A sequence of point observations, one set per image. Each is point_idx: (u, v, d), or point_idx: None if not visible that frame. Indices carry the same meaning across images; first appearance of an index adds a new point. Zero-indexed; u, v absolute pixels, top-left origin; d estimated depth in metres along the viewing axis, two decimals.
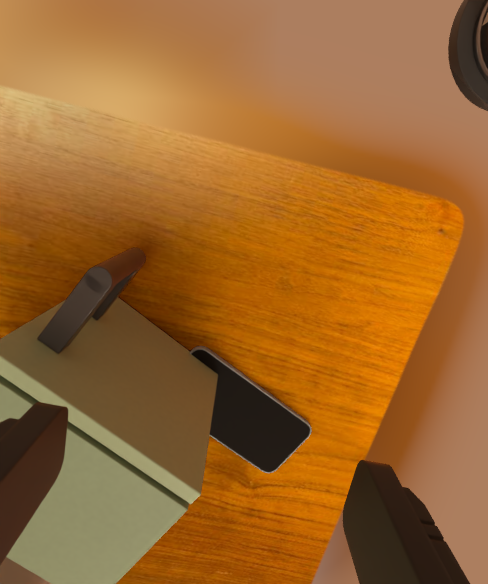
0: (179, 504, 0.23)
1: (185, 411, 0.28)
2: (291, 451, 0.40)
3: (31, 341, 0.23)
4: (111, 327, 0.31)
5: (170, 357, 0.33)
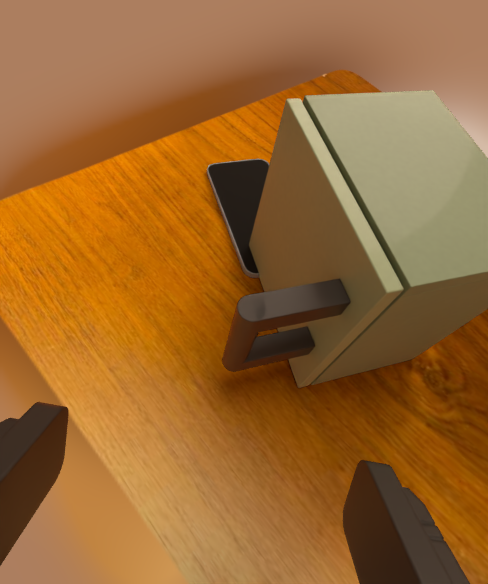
0: (308, 101, 0.24)
1: (276, 197, 0.29)
2: (235, 162, 0.43)
3: (355, 298, 0.21)
4: None
5: (271, 269, 0.32)
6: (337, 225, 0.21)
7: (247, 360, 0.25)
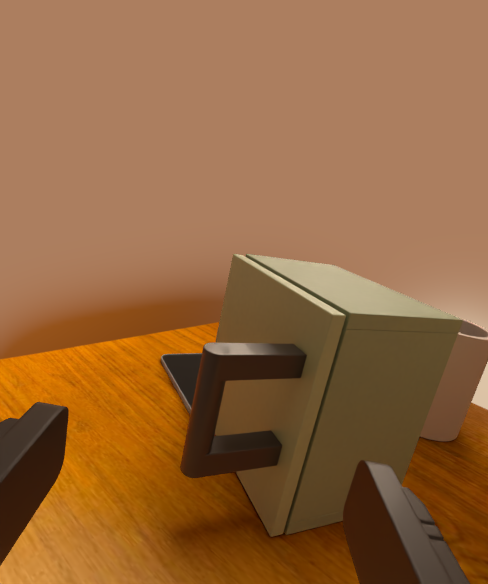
0: (249, 255, 0.34)
1: (229, 331, 0.33)
2: (187, 354, 0.48)
3: (309, 348, 0.23)
4: (262, 426, 0.27)
5: (228, 407, 0.32)
6: (283, 302, 0.26)
7: (210, 453, 0.22)
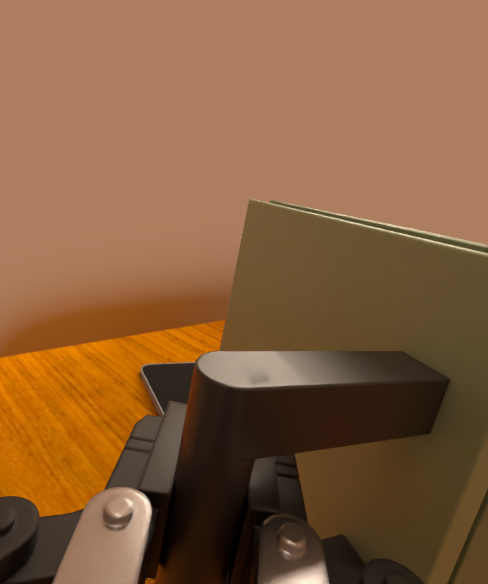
0: (275, 201, 0.20)
1: (243, 329, 0.20)
2: (178, 364, 0.34)
3: (459, 362, 0.09)
4: (317, 517, 0.13)
5: None
6: (367, 263, 0.12)
7: None
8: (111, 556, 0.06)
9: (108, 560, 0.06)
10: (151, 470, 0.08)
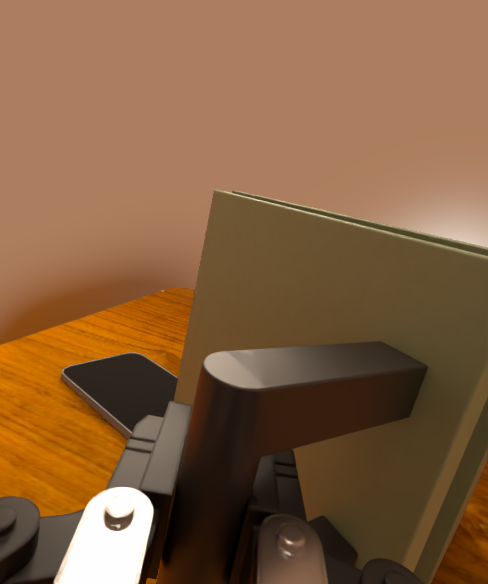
0: (240, 192, 0.20)
1: (211, 321, 0.19)
2: (100, 360, 0.32)
3: (437, 350, 0.10)
4: None
5: None
6: (344, 257, 0.13)
7: None
8: (112, 557, 0.06)
9: (109, 560, 0.06)
10: (152, 470, 0.08)
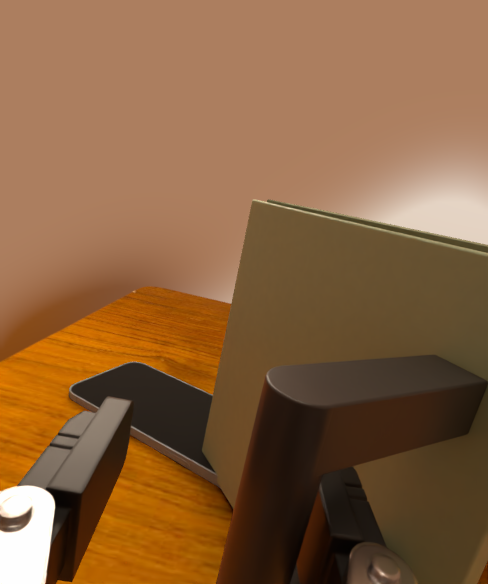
0: (277, 201, 0.20)
1: (250, 331, 0.20)
2: (103, 374, 0.30)
3: None
4: None
5: None
6: (393, 268, 0.12)
7: None
8: (12, 557, 0.06)
9: None
10: (67, 467, 0.08)
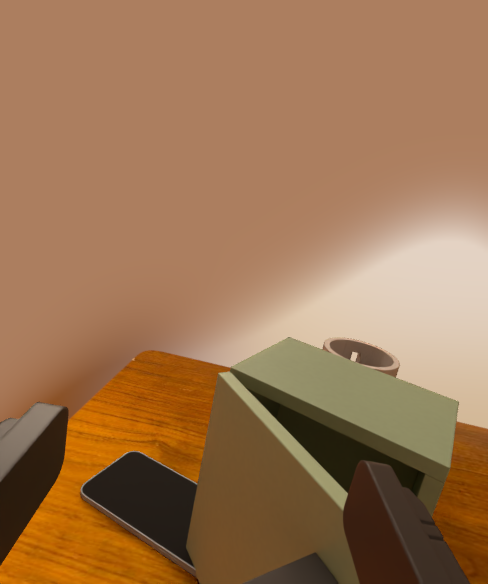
0: (237, 370, 0.27)
1: (217, 472, 0.26)
2: (107, 468, 0.37)
3: (342, 575, 0.16)
4: None
5: (220, 572, 0.26)
6: (296, 482, 0.19)
7: None
8: None
9: None
10: None
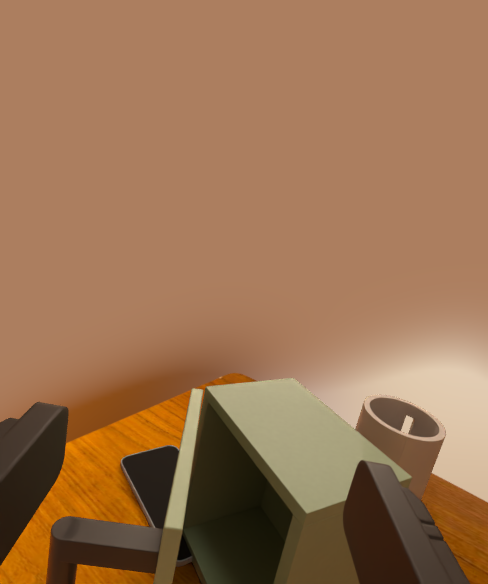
0: (208, 390, 0.34)
1: None
2: (147, 451, 0.47)
3: None
4: None
5: None
6: None
7: None
8: None
9: None
10: None
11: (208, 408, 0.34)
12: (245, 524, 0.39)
